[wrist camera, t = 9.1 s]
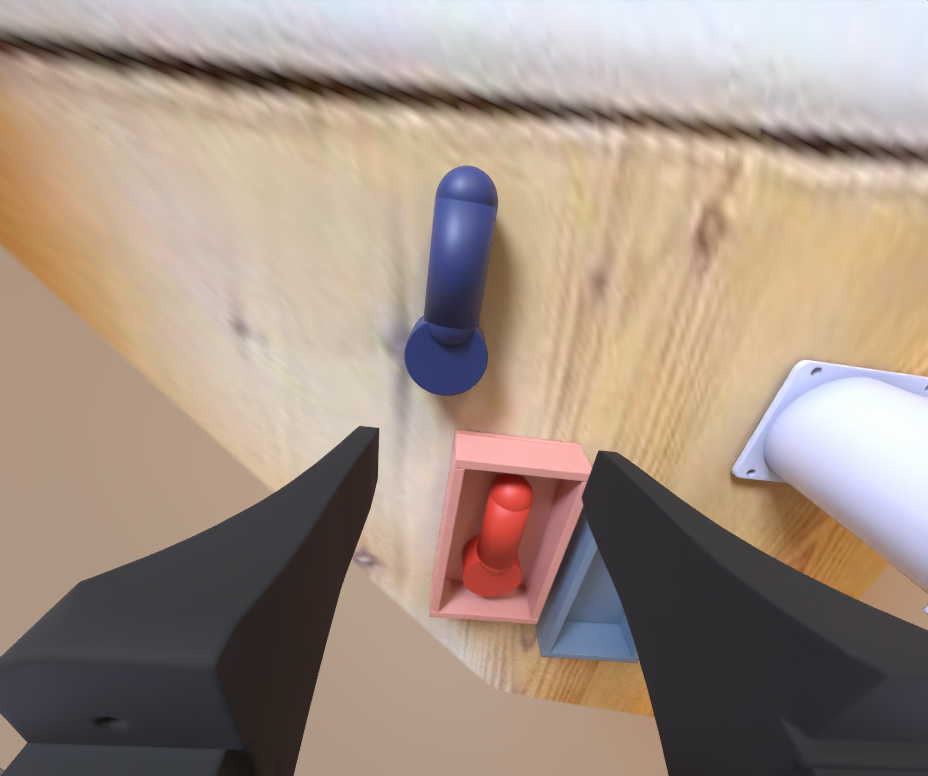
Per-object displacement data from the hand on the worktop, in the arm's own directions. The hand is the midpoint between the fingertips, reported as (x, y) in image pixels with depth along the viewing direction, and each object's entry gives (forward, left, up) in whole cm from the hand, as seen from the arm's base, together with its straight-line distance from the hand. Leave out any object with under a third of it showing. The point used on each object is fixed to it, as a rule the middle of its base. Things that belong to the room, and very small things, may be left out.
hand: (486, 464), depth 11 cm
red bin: (-3, +11, -8) cm, 14 cm away
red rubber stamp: (-3, +11, -8) cm, 14 cm away
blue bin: (-12, +15, -8) cm, 21 cm away
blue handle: (+2, -4, -8) cm, 10 cm away
